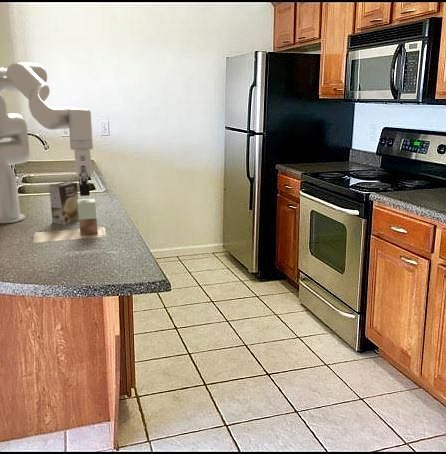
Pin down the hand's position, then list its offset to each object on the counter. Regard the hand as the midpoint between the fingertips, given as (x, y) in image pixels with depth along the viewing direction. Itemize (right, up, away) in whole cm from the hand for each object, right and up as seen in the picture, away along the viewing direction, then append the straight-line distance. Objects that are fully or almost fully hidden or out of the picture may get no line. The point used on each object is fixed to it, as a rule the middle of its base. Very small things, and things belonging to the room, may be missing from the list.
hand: (84, 192), depth 179 cm
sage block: (0, -9, +2) cm, 9 cm away
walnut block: (+1, -15, +4) cm, 15 cm away
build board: (-6, -16, +2) cm, 17 cm away
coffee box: (-13, -11, +21) cm, 27 cm away
